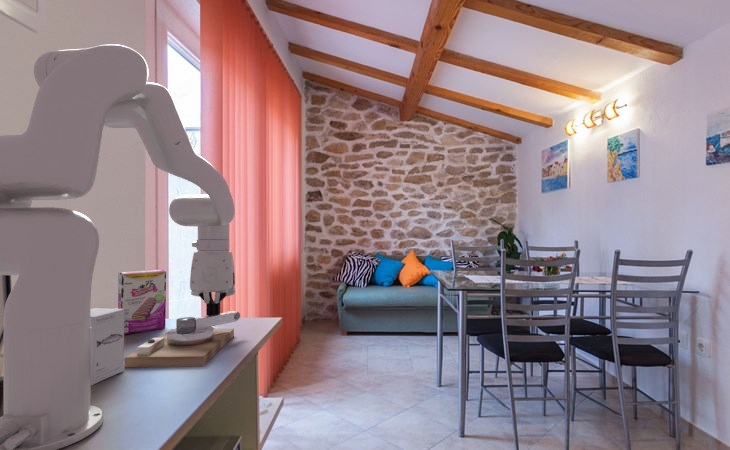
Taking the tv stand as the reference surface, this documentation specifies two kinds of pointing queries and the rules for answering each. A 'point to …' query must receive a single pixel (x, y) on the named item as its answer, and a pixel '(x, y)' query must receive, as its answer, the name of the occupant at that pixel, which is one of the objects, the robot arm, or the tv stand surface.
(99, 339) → the supplement box
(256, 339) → the tv stand surface
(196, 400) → the tv stand surface
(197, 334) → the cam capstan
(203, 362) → the wooden cutting board
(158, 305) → the candy bar box
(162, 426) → the tv stand surface
